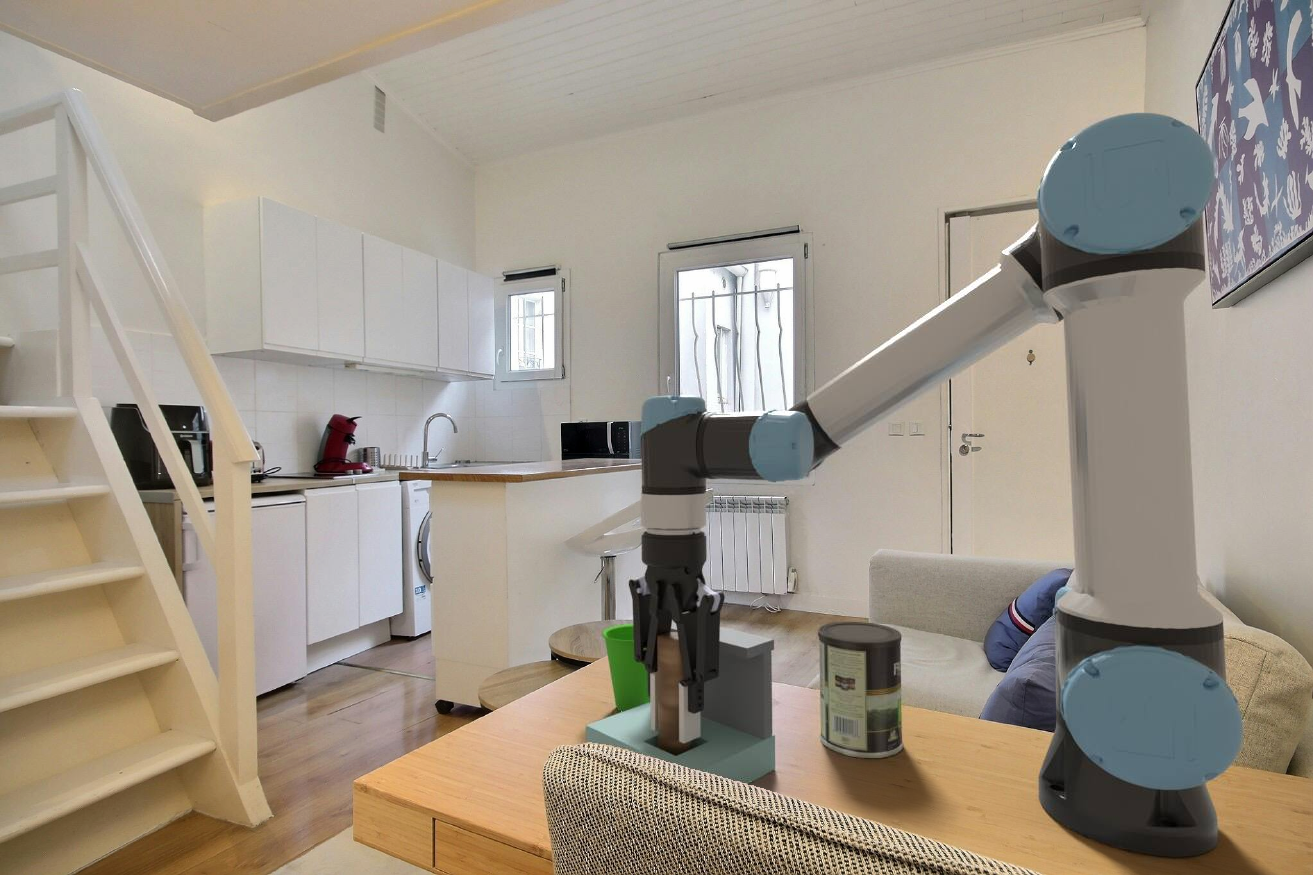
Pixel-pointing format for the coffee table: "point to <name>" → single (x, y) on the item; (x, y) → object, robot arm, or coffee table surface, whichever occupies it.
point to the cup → (625, 668)
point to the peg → (669, 694)
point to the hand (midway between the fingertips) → (675, 732)
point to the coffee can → (860, 689)
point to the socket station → (714, 716)
